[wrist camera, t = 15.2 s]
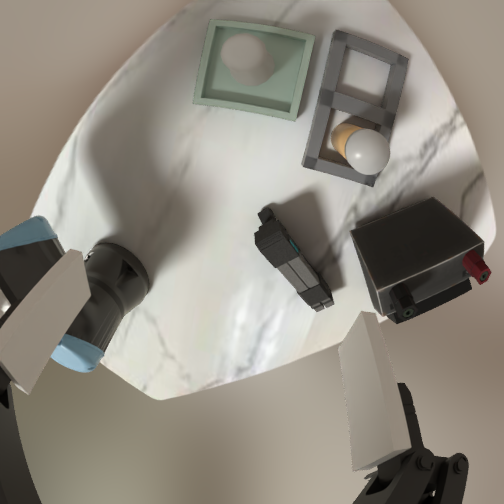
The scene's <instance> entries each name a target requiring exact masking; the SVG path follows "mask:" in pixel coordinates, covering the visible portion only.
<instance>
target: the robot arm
mask: <svg viewBox="0 0 504 504" xmlns="http://www.w3.org/2000/svg"><path fill="white" fill-rule="evenodd" d="M148 288H149V280H148V276H147V273H146V271H145V269H144V267H143V266H142V264H141V263H140V261H139V260H138V259H137V258H136V257H135V256H134V255H133V254H132V253H131V252H129V251H128V250H126V249H125V248H123V247H121V246H118V245H116V244H111V243H102V244H99V245H97V246H95V247H94V248H93V249H92V250H91V251H90V252H89V253H88V254H87V256H86V257H85V260H83V255H82V252H80V251H76V250H73V249H70V250H69V251H68V252H67V253H65V251H64V249H63V247H62V246H61V244H60V242H59V240H58V236H57V235H56V234H55V233H54V231H53V229H52V228H51V226H50V224H49V223H48V221H47V219H46V218H45V217H43V216H35V217H32V218H30V219H28V220H26V221H24V222H23V223H21V224H19V225H17V226H15V227H14V228H12V229H10V230H9V231H7V232H5V233H4V234H2V235H1V236H0V504H42V503H41V501H40V499H39V496H38V494H37V491H36V489H35V486H34V483H33V480H32V478H31V475H30V472H29V469H28V465H27V462H26V459H25V455H24V452H23V448H22V444H21V440H20V436H19V431H18V426H17V422H16V416H15V410H14V405H13V397H12V389H11V385H10V384H9V383H10V381H11V380H12V382H13V383H14V384H15V385H16V386H17V387H18V388H19V389H21V390H22V391H24V392H25V393H27V394H28V395H29V394H30V392H31V390H32V388H33V386H34V385H35V383H36V381H37V379H38V377H39V375H40V374H41V372H42V370H43V368H44V367H45V365H46V363H47V362H48V360H49V358H50V357H51V358H52V359H54V360H55V361H57V362H58V363H60V364H62V365H63V366H65V367H68V368H70V369H73V370H75V371H79V372H90V371H93V370H94V369H95V368H96V366H97V365H98V363H99V362H100V360H101V358H102V357H103V356H104V354H105V351H106V349H107V347H108V345H109V343H110V341H111V339H112V337H113V335H114V333H115V332H116V330H117V328H118V326H119V324H120V322H121V320H122V319H123V317H124V316H125V315H126V314H127V313H128V312H130V311H131V310H132V309H133V308H135V307H136V306H137V305H139V304H140V303H141V302H142V301H143V299H144V297H145V296H146V294H147V292H148ZM338 352H339V358H340V364H341V370H342V378H343V384H344V391H345V399H346V407H347V415H348V424H349V433H350V443H351V455H352V468H353V471H361V470H368V469H371V468H373V467H375V466H377V468H378V470H377V471H375V472H373V473H370V474H368V475H367V476H366V477H365V478H364V479H368V478H371V479H370V480H369V482H368V483H367V485H366V486H365V488H364V489H363V490H362V492H361V493H360V494H359V496H358V497H357V498H356V500H355V501H354V502H353V504H462V500H463V496H464V491H465V486H466V481H467V475H468V468H469V465H468V460H467V458H466V456H465V455H464V454H462V453H456V454H455V455H453V456H451V457H449V458H447V457H438V456H434V454H433V453H432V452H431V451H430V450H429V449H426V448H425V447H424V445H423V442H422V437H421V433H420V428H419V424H418V420H417V415H416V414H415V412H416V411H415V408H414V405H413V400H412V396H411V393H410V391H409V389H408V388H407V386H406V385H405V383H397V381H396V378H395V374H394V371H393V367H392V364H391V360H390V357H389V354H388V351H387V347H386V344H385V341H384V338H383V335H382V331H381V329H380V326H379V323H378V320H377V317H376V314H375V313H371V312H364V311H361V312H360V314H359V316H358V317H357V319H356V321H355V322H354V324H353V326H352V327H351V329H350V331H349V332H348V334H347V335H346V337H345V338H344V340H343V342H342V343H341V345H340V346H339V348H338ZM435 490H436V491H435ZM433 491H435V495H434V496H433V495H432V493H433Z"/></svg>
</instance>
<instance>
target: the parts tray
mask: <svg viewBox="0 0 504 504" xmlns="http://www.w3.org/2000/svg"><path fill="white" fill-rule="evenodd" d="M243 33H248V34H251V35H254V36H256V37H258V38H259V39H260V40H261V41H262V42H263V43H264V44H265V47H266V50H267V51H268V52H269V53H270V54H271V55H272V56H273V60H274V64H275V67H274V72H273V75H272V76H271V77H270V78H269V79H268V80H267V81H266V82H264V83H262V84H260V85H258V86H246V85H244V84H241V83H238V82H237V81H236V80H235V79H234V78H233V77H232V76H231V73H230V70H229V68H228V67H227V66H226V65H225V64H224V63H223V61H222V57H221V50H222V46H223V44H224V43H225V42H226V40H227V39H228V38H229V37H232V36H234V35H236V34H243ZM314 40H315V35H311V34H307V33H303V32H299V31H294V30H290V29H285V28H280V27H274V26H269V25H262V24H256V23H248V22H239V21H229V20H215V19H210V21H209V25H208V29H207V34H206V38H205V42H204V47H203V51H202V56H201V61H200V66H199V71H198V76H197V81H196V87H195V92H194V98H193V104H198V105H207V106H215V107H222V108H229V109H235V110H241V111H247V112H252V113H258V114H263V115H268V116H272V117H277V118H281V119H286V120H290V121H294V122H295V121H296V117H297V113H298V109H299V105H300V100H301V96H302V92H303V88H304V83H305V79H306V75H307V70H308V66H309V62H310V57H311V53H312V49H313V44H314Z"/></svg>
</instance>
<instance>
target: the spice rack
mask: <svg viewBox="0 0 504 504" xmlns="http://www.w3.org/2000/svg"><path fill="white" fill-rule="evenodd" d="M345 47H347V48H350V49H353V50H356V51H358V52H361V53H364V54H366V55H369V56H371V57H374V58H376V59H379V60H381V61H383V62H386V63H388V64H390V65H391V68H390V72H389V77H388V81H387V85H386V90H385V94H384V98H383V102H382V106H381V108H380V107H377V106H375V105H372V104H370V103H367V102H364V101H362V100H359V99H356V98H353V97H350V96H348V95H345V94H342V93H338V92H335V90H336V86H337V82H338V78H339V73H340V69H341V65H342V60H343V56H344V51H345ZM407 64H408V58H406V57H404V56H402V55H399V54H397V53H395V52H393V51H391V50H389V49H386V48H384V47H382V46H380V45H377V44H375V43H372V42H370V41H367V40H365V39H362V38H359V37H357V36H354V35H351V34H348V33H345V32H342V31H339V30H335V31H334V33H333V36H332V41H331V45H330V50H329V54H328V59H327V63H326V67H325V72H324V76H323V80H322V84H321V88H320V93H319V97H318V101H317V105H316V109H315V113H314V117H313V121H312V125H311V129H310V133H309V137H308V141H307V145H306V149H305V152H304V156H303V160H302V166H303V167H305V168H309V169H313V170H316V171H320V172H324V173H328V174H331V175H335V176H338V177H342V178H345V179H348V180H352V181H355V182H358V183H361V184H365V185H368V186H371V187H373V186H374V184H375V181H376V178H377V175H378V172H380V171H381V170H383V169H384V168H385V166H386V165H387V163H388V161H389V158H390V148H389V144H388V140H389V137H390V133H391V130H392V126H393V123H394V119H395V116H396V112H397V108H398V104H399V100H400V96H401V92H402V88H403V83H404V79H405V74H406V69H407ZM331 108H333V109H336V110H339V111H342V112H346V113H349V114H352V115H354V116H357V117H360V118H363V119H366V120H368V121H371V122H374V123H376V128H375V131H374V130H371V129H364V128H361V127H358V126H356V125H353V124H349V123H342V124H340V125H338V126H336V127H335V128H334V130H333V131H332V134H331V143H332V145H333V147H334V149H335V150H336V151H337V152H339V153H340V154H341V155H342V156H343V157H344V158H345V159H347V161H348V163H349V164H350V165H351V166H349V165H346V164H342V163H339V162H336V161H332V160H329V159H325V158H322V157H318V156H319V152H320V148H321V145H322V141H323V137H324V133H325V130H326V126H327V122H328V118H329V114H330V110H331Z"/></svg>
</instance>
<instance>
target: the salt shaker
mask: <svg viewBox="0 0 504 504" xmlns="http://www.w3.org/2000/svg"><path fill="white" fill-rule="evenodd" d="M221 57H222V61H223V63H224V64H225V65H226V66H227V67H228V68H229V70H230V73H231V76H232V77H233V78H234V79H235V80H236V81H237V82H238V83H241V84H244V85H246V86H258V85H260V84H262V83H264V82H266V81H267V80H268V79H269V78H270V77H271V76H272V75H273V72H274V67H275V64H274V60H273V56H272V55H271V54H270V53H269V52H268V51H267V50H266V47H265V44H264V43H263V42H262V41H261V40H260V39H259V38H258V37H256V36H254V35H251V34H248V33H243V34H236V35H234V36H232V37H229V38H228V39H227V40H226V42H225V43H224V44H223V46H222V50H221Z"/></svg>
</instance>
